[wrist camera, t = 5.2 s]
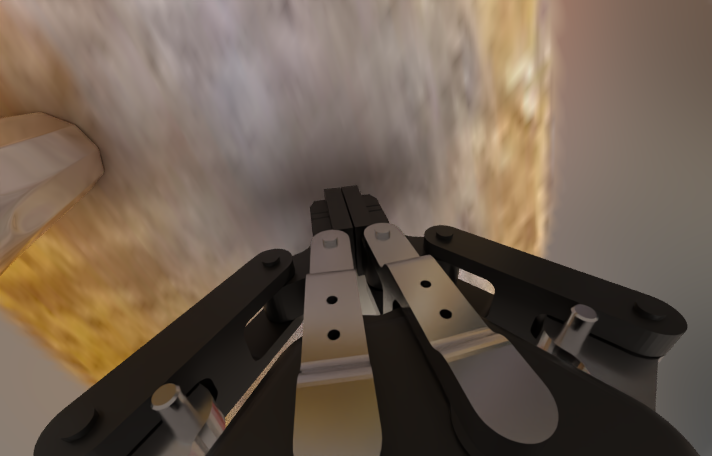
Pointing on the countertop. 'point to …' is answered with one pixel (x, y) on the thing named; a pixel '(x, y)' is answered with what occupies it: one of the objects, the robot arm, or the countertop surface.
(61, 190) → the milkshake
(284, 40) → the countertop surface
